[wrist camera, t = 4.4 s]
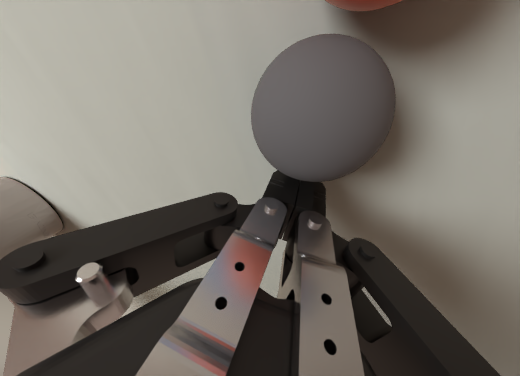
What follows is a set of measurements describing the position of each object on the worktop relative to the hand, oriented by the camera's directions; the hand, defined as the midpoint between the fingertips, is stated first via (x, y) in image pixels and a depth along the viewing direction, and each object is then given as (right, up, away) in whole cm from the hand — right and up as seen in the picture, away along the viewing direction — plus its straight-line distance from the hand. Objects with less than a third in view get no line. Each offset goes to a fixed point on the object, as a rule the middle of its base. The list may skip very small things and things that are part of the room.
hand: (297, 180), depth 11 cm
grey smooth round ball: (0, +3, -3) cm, 4 cm away
